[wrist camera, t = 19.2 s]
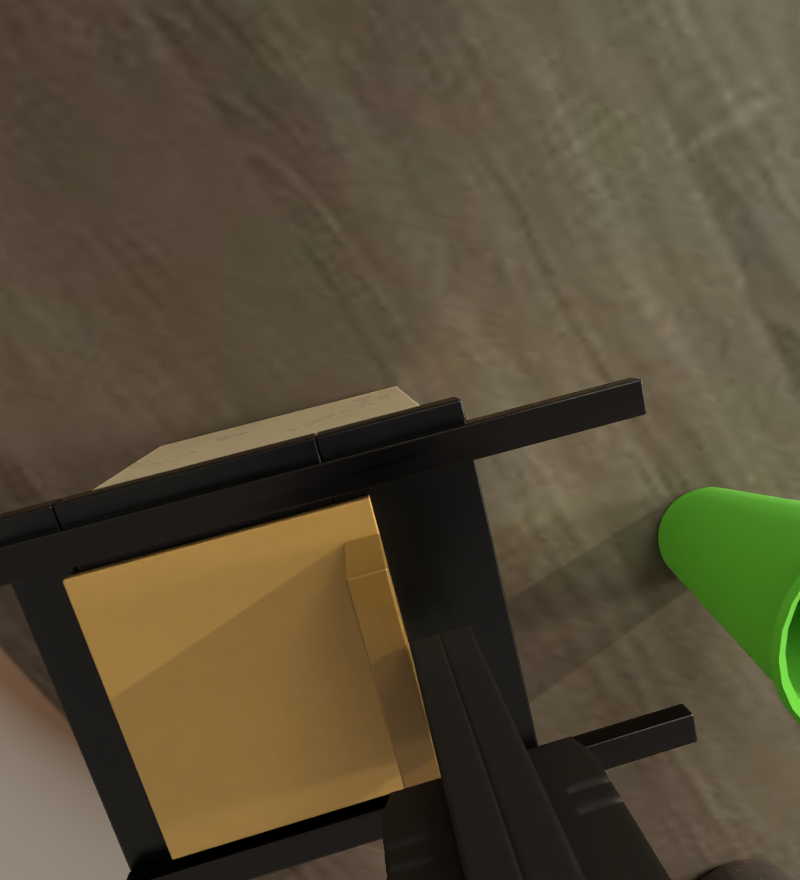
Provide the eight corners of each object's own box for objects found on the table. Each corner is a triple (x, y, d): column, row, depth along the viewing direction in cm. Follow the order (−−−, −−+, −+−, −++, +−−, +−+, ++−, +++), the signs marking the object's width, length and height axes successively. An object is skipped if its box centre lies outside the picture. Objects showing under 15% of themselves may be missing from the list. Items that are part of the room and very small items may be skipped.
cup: (601, 595, 31) (742, 733, 20) (649, 434, 30) (828, 491, 19) (746, 620, 32) (951, 763, 22) (799, 468, 31) (1045, 539, 20)
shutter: (68, 574, 15) (9, 627, 12) (369, 494, 16) (376, 527, 13) (176, 848, 17) (145, 948, 14) (441, 768, 17) (461, 848, 15)
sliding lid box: (142, 437, 27) (-31, 530, 14) (500, 346, 28) (639, 356, 15) (223, 673, 29) (140, 933, 17) (547, 581, 30) (700, 758, 18)
